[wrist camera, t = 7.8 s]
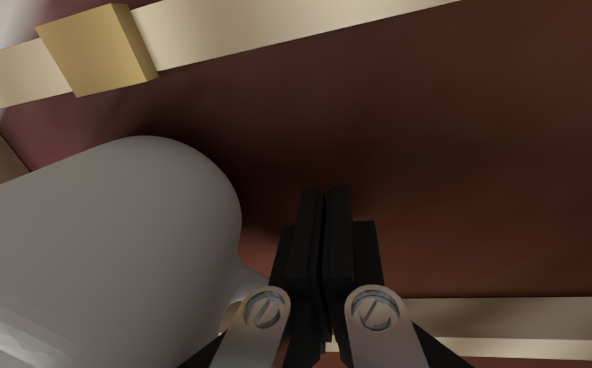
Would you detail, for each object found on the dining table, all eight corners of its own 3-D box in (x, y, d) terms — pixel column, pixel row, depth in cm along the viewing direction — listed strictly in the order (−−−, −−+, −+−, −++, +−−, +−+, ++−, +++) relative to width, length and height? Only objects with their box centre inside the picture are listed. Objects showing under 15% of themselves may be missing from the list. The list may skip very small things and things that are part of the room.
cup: (355, 208, 11) (357, 489, 5) (273, 298, 16) (214, 510, 9) (106, 66, 10) (-378, 186, 3) (91, 208, 14) (-134, 381, 8)
